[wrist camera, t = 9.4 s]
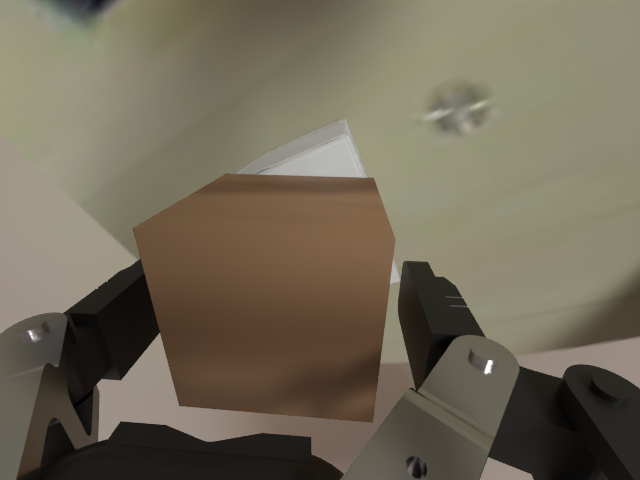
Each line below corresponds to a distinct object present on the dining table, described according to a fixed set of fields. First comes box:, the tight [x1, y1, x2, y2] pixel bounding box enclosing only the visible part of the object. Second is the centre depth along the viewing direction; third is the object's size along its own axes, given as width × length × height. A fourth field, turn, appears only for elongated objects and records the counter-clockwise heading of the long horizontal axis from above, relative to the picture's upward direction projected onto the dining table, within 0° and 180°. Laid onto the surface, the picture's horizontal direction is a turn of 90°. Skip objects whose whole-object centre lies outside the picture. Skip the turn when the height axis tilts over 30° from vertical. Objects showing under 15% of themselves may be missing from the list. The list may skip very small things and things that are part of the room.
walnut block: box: [133, 174, 395, 422], centre depth 11 cm, size 6×6×6 cm
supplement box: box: [234, 118, 400, 285], centre depth 19 cm, size 7×7×13 cm
